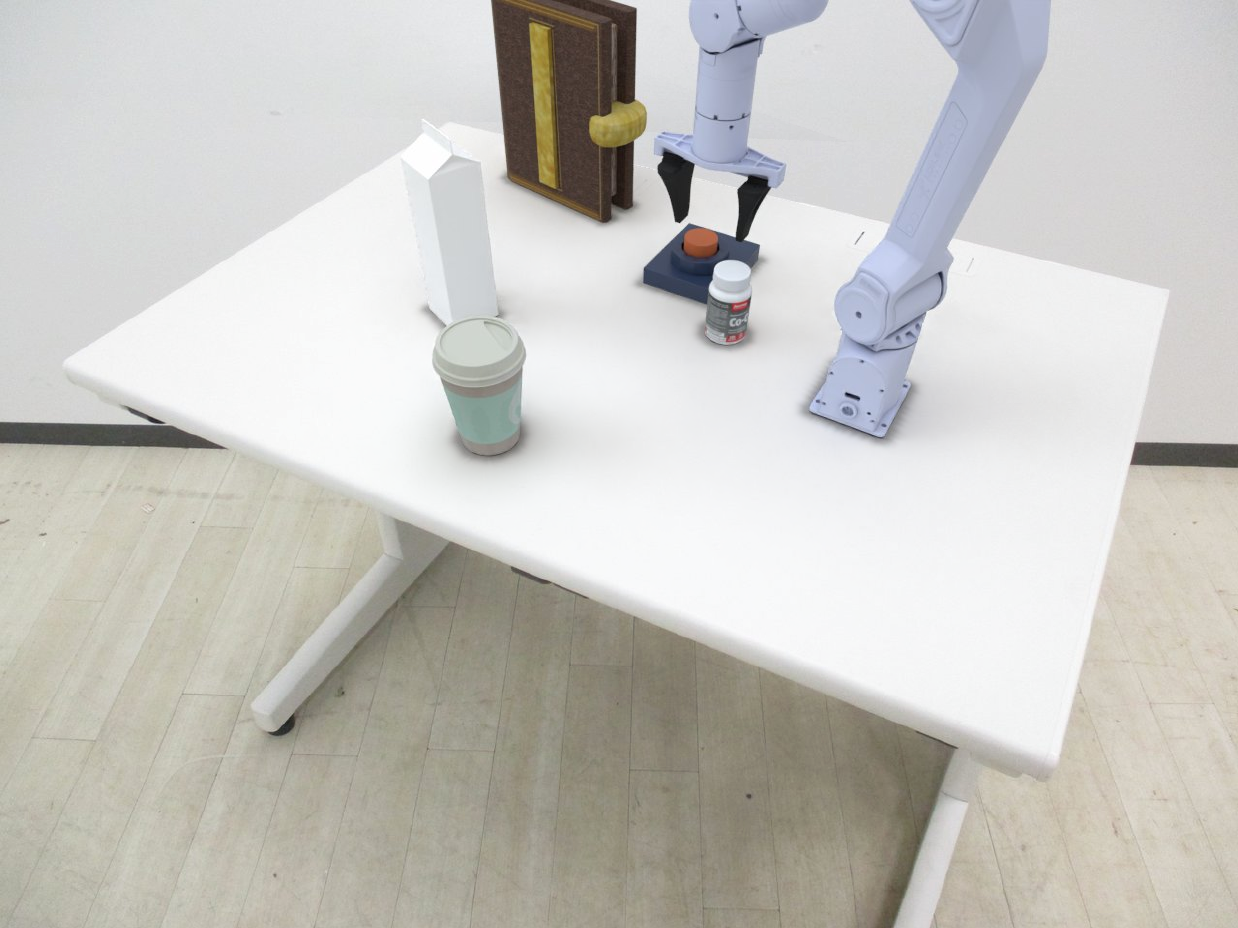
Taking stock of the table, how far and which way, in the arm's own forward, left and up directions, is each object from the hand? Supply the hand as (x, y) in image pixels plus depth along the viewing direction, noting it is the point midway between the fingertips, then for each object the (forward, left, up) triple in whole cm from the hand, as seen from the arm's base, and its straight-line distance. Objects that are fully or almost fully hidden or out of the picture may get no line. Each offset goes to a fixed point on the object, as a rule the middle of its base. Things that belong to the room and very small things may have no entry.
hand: (711, 228), depth 96 cm
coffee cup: (-33, +7, -9) cm, 35 cm away
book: (+12, +26, -9) cm, 30 cm away
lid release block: (+4, +2, -9) cm, 10 cm away
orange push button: (+3, +2, -5) cm, 6 cm away
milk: (-18, +22, -9) cm, 30 cm away
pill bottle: (-6, -6, -9) cm, 12 cm away
